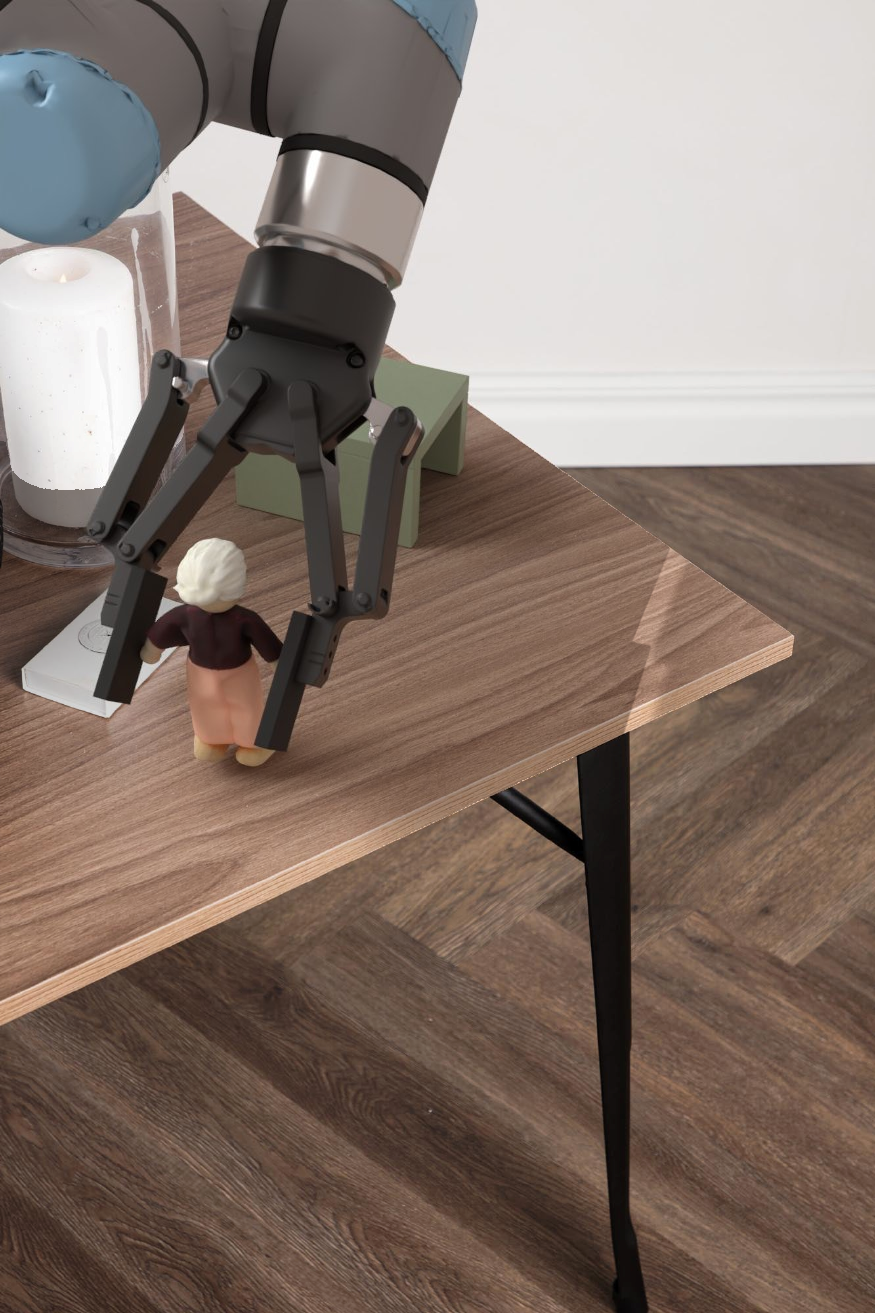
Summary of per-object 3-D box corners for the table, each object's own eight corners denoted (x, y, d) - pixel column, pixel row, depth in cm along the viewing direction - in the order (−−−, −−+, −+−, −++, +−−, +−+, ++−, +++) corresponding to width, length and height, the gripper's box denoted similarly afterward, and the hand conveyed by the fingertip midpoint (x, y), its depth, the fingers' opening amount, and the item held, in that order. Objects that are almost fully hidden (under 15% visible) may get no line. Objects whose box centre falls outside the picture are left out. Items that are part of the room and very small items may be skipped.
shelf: (236, 504, 91) (231, 409, 86) (300, 429, 98) (298, 337, 94) (411, 548, 88) (414, 453, 84) (463, 467, 95) (469, 375, 91)
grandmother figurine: (301, 718, 75) (296, 522, 66) (298, 770, 72) (293, 572, 63) (153, 717, 74) (130, 520, 66) (145, 770, 71) (119, 570, 63)
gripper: (537, 341, 70) (408, 786, 69) (165, 258, 75) (38, 674, 74) (515, 286, 63) (370, 783, 62) (103, 198, 67) (-38, 659, 66)
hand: (190, 723), depth 68 cm, fingers closed on grandmother figurine, 8 cm apart
